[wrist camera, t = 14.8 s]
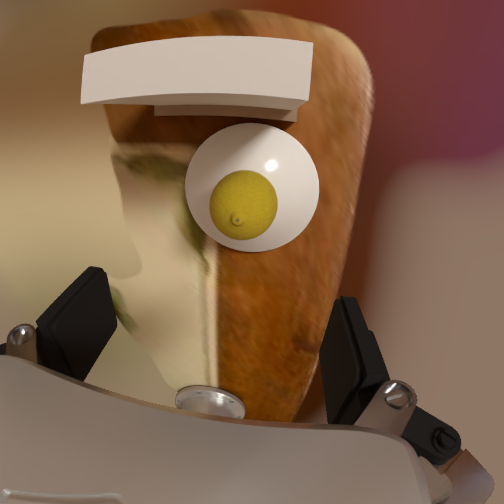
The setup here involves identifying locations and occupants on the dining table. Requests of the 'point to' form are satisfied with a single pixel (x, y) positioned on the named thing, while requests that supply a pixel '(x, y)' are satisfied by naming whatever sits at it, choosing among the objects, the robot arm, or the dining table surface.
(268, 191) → the lemon
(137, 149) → the dining table surface
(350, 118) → the dining table surface
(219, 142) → the white round disc
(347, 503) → the robot arm
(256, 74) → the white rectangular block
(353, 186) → the dining table surface
